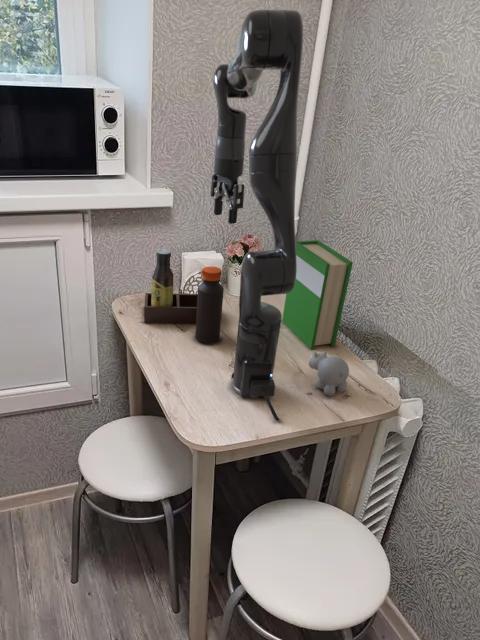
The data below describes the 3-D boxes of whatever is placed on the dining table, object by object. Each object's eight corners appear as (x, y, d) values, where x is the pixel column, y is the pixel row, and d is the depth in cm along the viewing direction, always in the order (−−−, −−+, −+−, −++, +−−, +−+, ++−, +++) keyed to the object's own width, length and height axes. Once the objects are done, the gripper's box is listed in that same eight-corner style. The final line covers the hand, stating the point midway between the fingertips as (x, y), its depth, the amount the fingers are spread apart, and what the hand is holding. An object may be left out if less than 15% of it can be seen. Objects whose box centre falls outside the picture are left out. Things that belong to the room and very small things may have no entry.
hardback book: (334, 346, 144) (352, 262, 131) (310, 349, 142) (326, 264, 129) (304, 318, 158) (318, 240, 145) (282, 320, 156) (294, 241, 143)
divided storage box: (211, 324, 152) (212, 308, 149) (144, 323, 151) (144, 307, 148) (208, 309, 160) (209, 294, 158) (145, 308, 159) (145, 292, 157)
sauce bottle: (148, 312, 157) (148, 247, 146) (167, 309, 159) (168, 245, 148) (156, 321, 152) (156, 255, 141) (176, 318, 154) (177, 253, 143)
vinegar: (206, 347, 140) (211, 276, 130) (190, 337, 145) (193, 268, 134) (224, 340, 144) (230, 270, 133) (208, 330, 148) (212, 263, 138)
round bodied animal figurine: (321, 369, 134) (327, 339, 129) (350, 393, 124) (358, 363, 120) (297, 374, 131) (302, 344, 126) (325, 399, 122) (332, 368, 117)
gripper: (204, 150, 139) (201, 213, 147) (229, 161, 128) (224, 227, 137) (229, 150, 141) (224, 211, 150) (256, 160, 131) (249, 225, 139)
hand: (224, 218), depth 143 cm, fingers open, 8 cm apart
